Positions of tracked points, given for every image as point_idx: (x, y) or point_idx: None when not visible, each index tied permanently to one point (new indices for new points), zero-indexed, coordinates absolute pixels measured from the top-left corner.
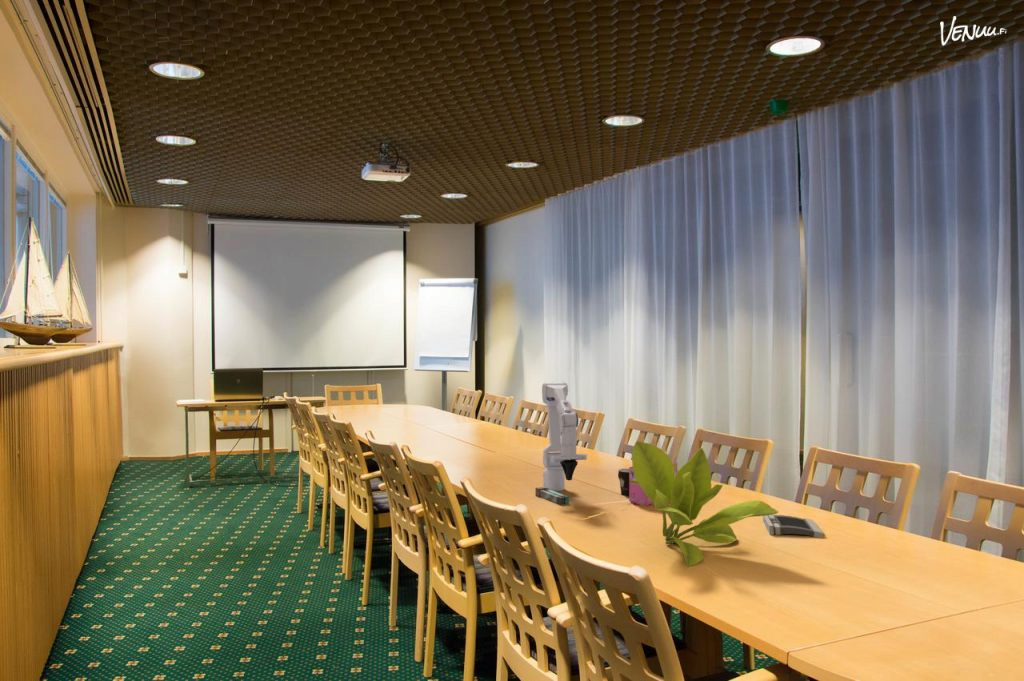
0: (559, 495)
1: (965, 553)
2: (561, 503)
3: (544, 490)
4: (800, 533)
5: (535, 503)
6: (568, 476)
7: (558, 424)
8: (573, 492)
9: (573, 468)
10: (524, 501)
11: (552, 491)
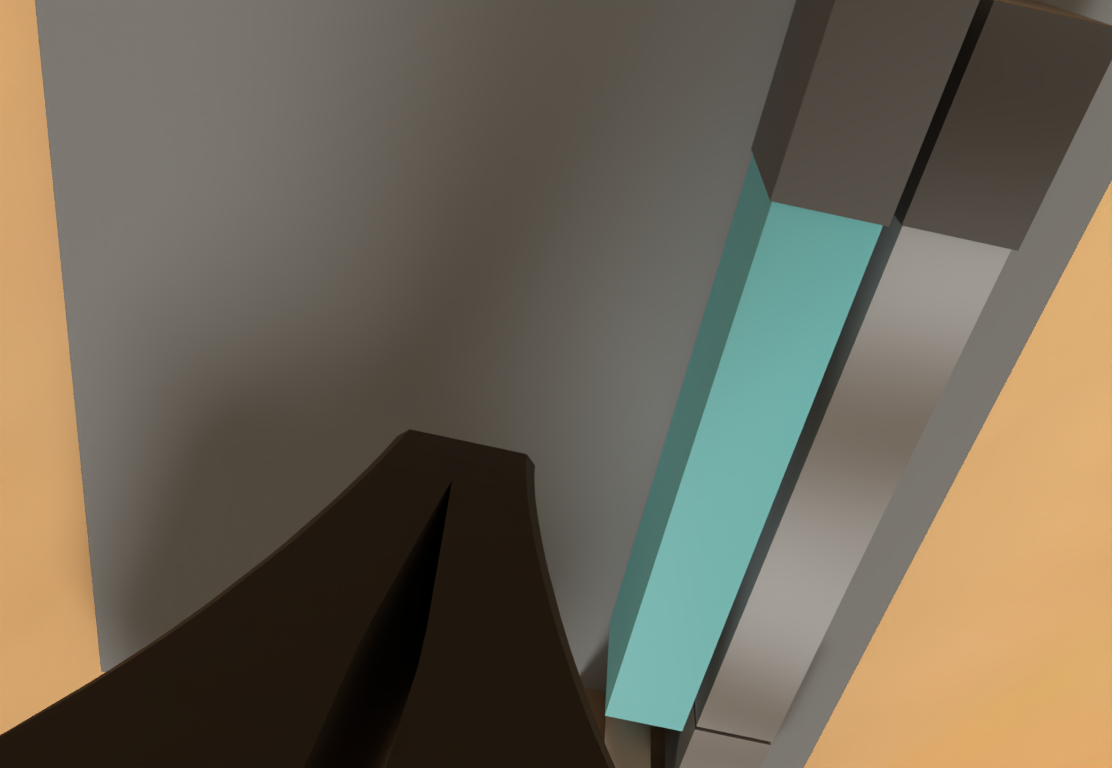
0: (853, 295)
1: None
2: (1028, 2)
3: (690, 764)
4: None
5: (1092, 519)
6: (542, 546)
7: None
8: (54, 661)
9: (152, 760)
10: (1078, 697)
11: (672, 627)
